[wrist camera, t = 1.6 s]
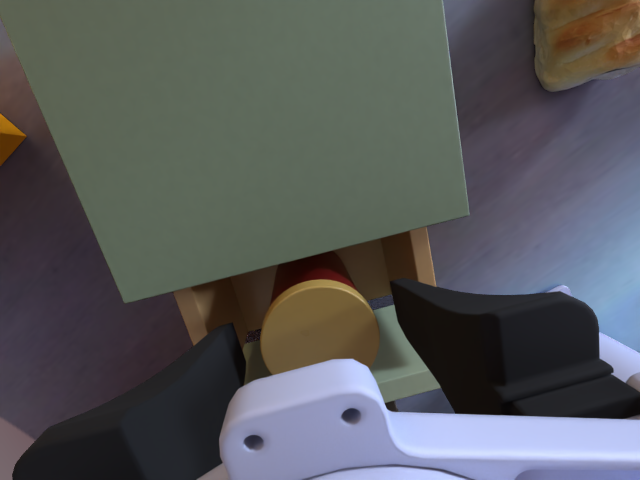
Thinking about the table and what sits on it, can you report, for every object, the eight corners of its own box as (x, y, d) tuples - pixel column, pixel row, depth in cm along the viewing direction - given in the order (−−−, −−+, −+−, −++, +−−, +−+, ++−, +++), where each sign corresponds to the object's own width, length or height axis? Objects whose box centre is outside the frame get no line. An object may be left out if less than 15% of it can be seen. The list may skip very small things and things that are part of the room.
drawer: (422, 362, 22) (477, 445, 15) (256, 407, 22) (239, 510, 15) (380, 130, 18) (428, 107, 12) (177, 180, 18) (108, 186, 11)
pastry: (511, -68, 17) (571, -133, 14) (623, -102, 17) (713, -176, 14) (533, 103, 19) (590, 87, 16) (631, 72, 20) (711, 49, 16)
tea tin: (361, 291, 19) (400, 360, 12) (297, 326, 19) (298, 414, 12) (326, 227, 18) (346, 264, 11) (258, 265, 18) (235, 324, 11)
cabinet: (397, 197, 20) (470, 215, 12) (196, 247, 20) (123, 304, 11) (354, -42, 17) (412, -250, 9) (113, 14, 17) (-71, -144, 8)
